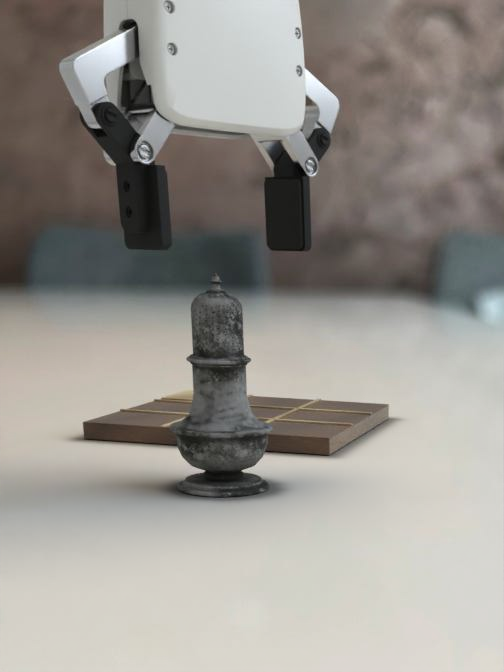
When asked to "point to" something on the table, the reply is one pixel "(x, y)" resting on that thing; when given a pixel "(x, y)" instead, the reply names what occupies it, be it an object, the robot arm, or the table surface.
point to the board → (282, 413)
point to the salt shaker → (220, 403)
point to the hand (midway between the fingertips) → (222, 250)
